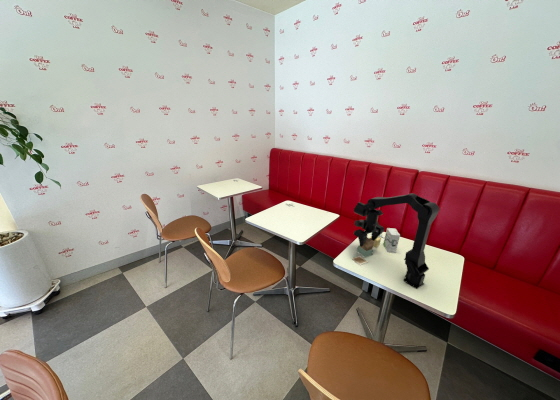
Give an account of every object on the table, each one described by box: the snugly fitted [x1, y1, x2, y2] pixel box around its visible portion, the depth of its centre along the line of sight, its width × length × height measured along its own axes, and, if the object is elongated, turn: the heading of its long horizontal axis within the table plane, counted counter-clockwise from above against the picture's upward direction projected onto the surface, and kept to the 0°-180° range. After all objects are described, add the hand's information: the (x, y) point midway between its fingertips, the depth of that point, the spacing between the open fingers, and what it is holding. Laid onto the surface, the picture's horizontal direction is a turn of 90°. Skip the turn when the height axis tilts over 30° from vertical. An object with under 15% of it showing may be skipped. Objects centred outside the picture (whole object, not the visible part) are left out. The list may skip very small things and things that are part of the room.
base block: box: [356, 245, 375, 258], centre depth 124 cm, size 6×6×4 cm
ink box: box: [382, 227, 401, 253], centre depth 128 cm, size 9×5×12 cm, turn 172°
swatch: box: [351, 255, 368, 266], centre depth 118 cm, size 6×6×1 cm
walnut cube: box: [359, 236, 374, 251], centre depth 122 cm, size 5×5×5 cm
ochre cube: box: [368, 235, 382, 249], centre depth 133 cm, size 5×5×5 cm
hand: (366, 244), depth 122 cm, fingers open, 9 cm apart
